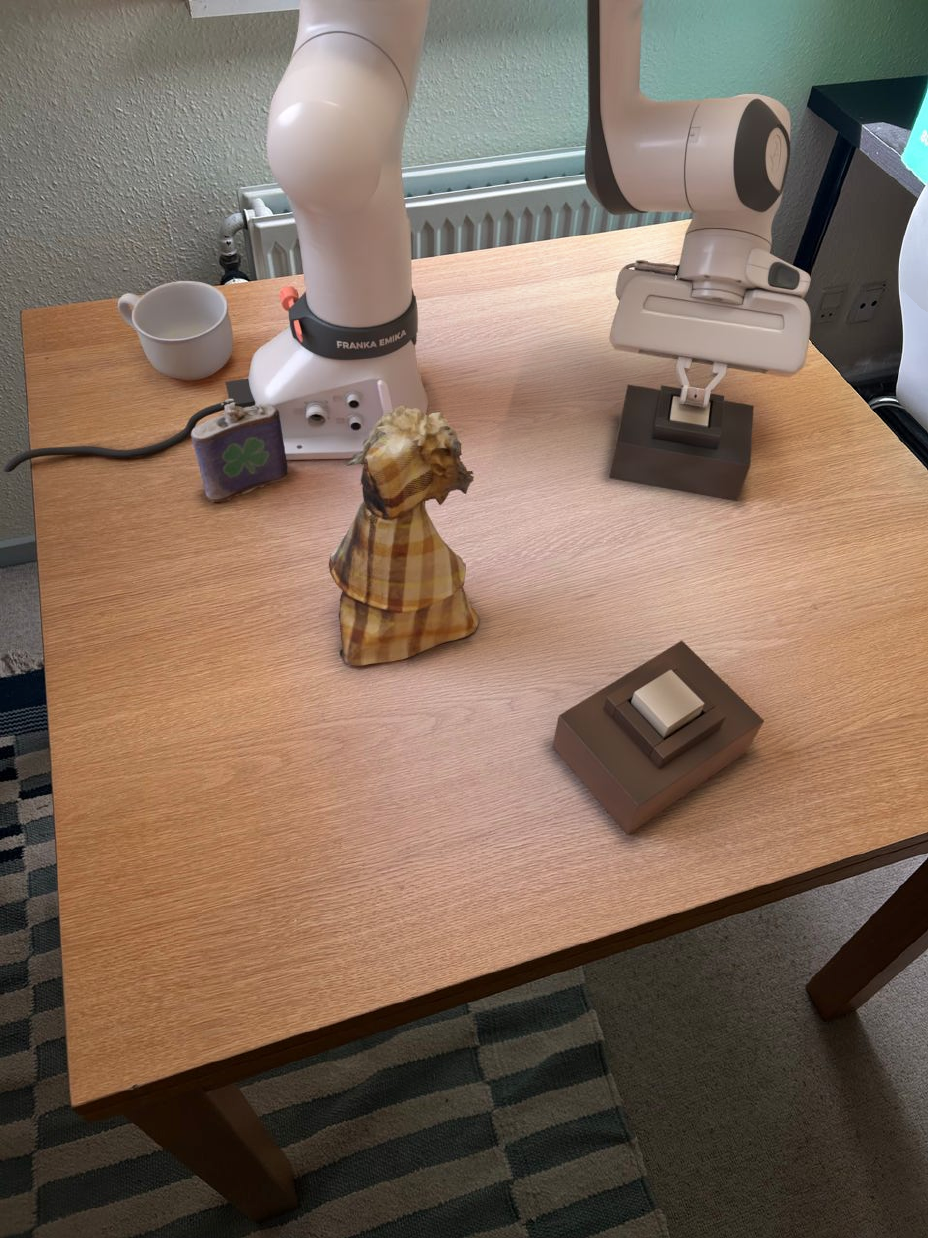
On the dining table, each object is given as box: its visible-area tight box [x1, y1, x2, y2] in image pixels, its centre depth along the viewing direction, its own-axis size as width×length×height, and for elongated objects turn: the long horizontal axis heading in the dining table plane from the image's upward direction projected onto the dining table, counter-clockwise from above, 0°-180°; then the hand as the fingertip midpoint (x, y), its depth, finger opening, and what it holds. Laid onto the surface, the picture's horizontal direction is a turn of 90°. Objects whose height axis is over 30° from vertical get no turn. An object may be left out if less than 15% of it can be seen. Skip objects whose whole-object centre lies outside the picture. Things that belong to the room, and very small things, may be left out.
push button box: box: [551, 640, 765, 836], centre depth 77 cm, size 14×10×7 cm
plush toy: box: [328, 406, 481, 667], centre depth 79 cm, size 14×14×25 cm
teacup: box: [117, 280, 234, 381], centre depth 108 cm, size 14×11×8 cm
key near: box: [631, 670, 704, 738], centre depth 74 cm, size 4×4×2 cm
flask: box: [190, 398, 290, 503], centre depth 94 cm, size 9×3×11 cm, turn 121°
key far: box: [668, 396, 710, 427], centre depth 98 cm, size 4×4×2 cm
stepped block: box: [608, 384, 755, 502], centre depth 100 cm, size 14×10×7 cm
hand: (692, 405), depth 97 cm, fingers closed, pressing on key far
